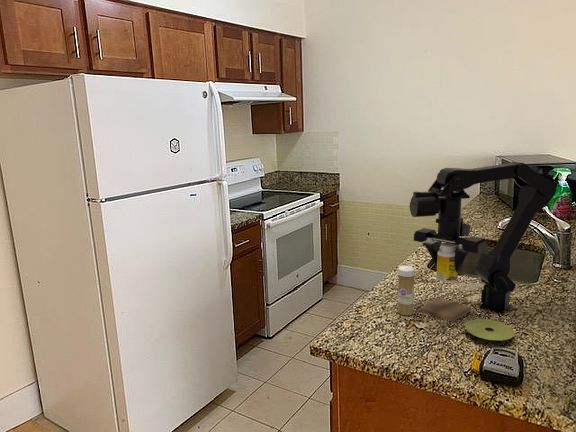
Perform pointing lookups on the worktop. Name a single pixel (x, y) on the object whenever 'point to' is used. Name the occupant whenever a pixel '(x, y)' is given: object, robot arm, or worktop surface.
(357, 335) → the worktop surface
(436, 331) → the worktop surface
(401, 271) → the sprinkles bottle
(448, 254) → the supplement bottle
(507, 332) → the yellow-green flat disc
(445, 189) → the robot arm
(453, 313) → the walnut board
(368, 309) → the worktop surface
